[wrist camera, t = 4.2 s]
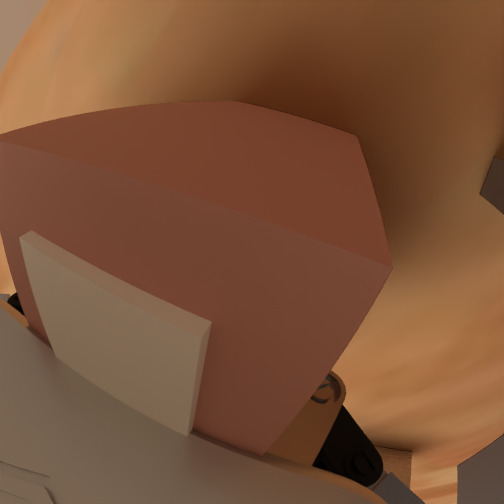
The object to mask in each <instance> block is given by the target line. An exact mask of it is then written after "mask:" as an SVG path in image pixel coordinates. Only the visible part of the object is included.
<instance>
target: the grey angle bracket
mask: <svg viewBox="0 0 504 504" xmlns="http://www.w3.org/2000/svg"><path fill="white" fill-rule="evenodd" d="M480 195H481V196H483V197H484V198H485V199H486V200H487V201H489V202H490V203H491V204H492V205H493V206H494V207H496V208H497V209H498V210H499V211H500V212H501V213H502V214H504V161H502V160H500V159H498V158H496V157H494V159H493V161H492V164H491V167H490V170H489V172H488V175H487V178H486V180H485V183H484V185H483V188H482V190H481V193H480ZM457 471H458V496H457V504H504V434H503V435H502V436H501V437H500V438H498V439H497V440H496V441H494V442H493V443H491V444H490V445H489V446H487V447H486V448H484V449H483V450H481V451H480V452H479V453H477V454H476V455H474V456H473V457H471V458H469V459H468V460H466V461H465V462H463V463H461V464H460V465H458V466H457Z"/></svg>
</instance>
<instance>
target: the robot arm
mask: <svg viewBox="0 0 504 504" xmlns="http://www.w3.org/2000/svg"><path fill="white" fill-rule="evenodd" d="M345 396H346V388H345V385H344V383H343V381H342V379H341V378H340V377H339V376H338V375H337V374H335V373H334V372H333V371H331V370H330V372H329V373H328V374H327V376H326V377H325V379H324V380H323V381H322V383H321V384H320V386H319V387H318V388H317V390H316V391H315V392H314V394H313V395H312V396H311V398H310V399H309V400H308V402H307V403H306V404H305V405H304V407H303V408H302V409H301V411H300V412H299V413H298V414H297V416H296V417H295V418H294V419H293V421H292V422H291V423H290V424H289V425H288V427H287V428H286V429H285V430H284V431H283V433H282V434H281V435H280V436H279V437H278V439H277V440H276V441H275V442H274V443H273V444H272V445H271V447H270V448H269V449H268V450H267V451H266V452H265V453H264V454H263V456H259V455H256V454H253V453H250V452H247V451H245V450H242V449H239V448H236V447H234V446H231V445H229V444H226V443H223V442H221V441H218V440H216V439H214V438H211V437H209V436H206V435H204V434H202V433H200V432H197V431H195V430H193V429H192V431H191V432H190V433H189V434H188V436H185V435H183V434H181V433H178V432H176V431H174V430H172V429H170V428H168V427H166V426H164V425H162V424H160V423H158V422H157V421H155V420H153V419H151V418H149V417H147V416H145V415H144V414H142V413H140V412H138V411H136V410H135V409H133V408H131V407H130V406H128V405H126V404H124V403H123V402H121V401H119V400H118V399H116V398H115V397H113V396H111V395H110V394H108V393H107V392H105V391H104V390H102V389H100V388H99V387H97V386H96V385H94V384H93V383H91V382H90V381H88V380H87V379H86V378H84V377H83V376H81V375H80V374H78V373H77V372H76V371H74V370H73V369H72V368H70V367H69V366H68V365H66V364H65V363H64V362H62V361H61V360H60V359H58V358H57V357H56V356H55V353H54V351H53V349H52V346H51V344H50V342H48V341H47V340H46V339H45V338H43V337H42V336H41V335H40V334H38V333H37V332H36V331H35V330H34V329H32V328H31V327H30V326H29V324H28V322H27V319H26V317H25V314H24V311H23V308H22V306H21V303H20V300H19V297H18V294H17V293H15V294H13V295H12V296H11V297H10V294H0V504H425V503H424V502H423V501H422V500H421V499H420V498H419V497H418V496H416V495H415V494H414V493H413V492H412V491H411V490H410V489H409V488H408V487H407V486H406V485H405V484H404V483H402V482H401V481H400V480H399V479H398V478H397V477H396V476H395V475H394V474H393V473H392V472H389V473H387V472H386V471H385V470H384V469H383V460H382V457H381V456H380V454H379V452H378V451H377V450H376V448H375V447H374V446H373V444H372V443H371V442H370V440H369V439H368V438H367V436H366V435H365V434H364V432H363V431H362V430H361V428H360V427H359V426H358V424H357V423H356V422H355V420H354V419H353V418H352V416H351V415H350V414H349V412H348V411H347V410H346V408H345V407H344V406H343V402H344V400H345Z"/></svg>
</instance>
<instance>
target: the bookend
mask: <svg viewBox="0 0 504 504" xmlns="http://www.w3.org/2000/svg"><path fill="white" fill-rule="evenodd" d="M374 447H375V448H376V450H377V451H378V452H379V454H380V456H381V457H382V460H383V469H384V470H385V471H386V472H387V473H389V472H392V473H393V474H394V475H395V476H396V477H397V478H398V479H399V480H400V481H401V482H402V483H404V484H405V485H406V486H407V487H408V488H409V489H410V479H411V460H412V452H408V451H402V450H395V449H389V448H383V447H378V446H374Z"/></svg>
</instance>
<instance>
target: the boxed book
mask: <svg viewBox="0 0 504 504" xmlns="http://www.w3.org/2000/svg"><path fill="white" fill-rule="evenodd" d="M0 231H1V236H2V240H3V245H4V249H5V253H6V257H7V261H8V264H9V268H10V272H11V275H12V278H13V282H14V285H15V288H16V291H17V294H18V297H19V300H20V303H21V306H22V308H23V311H24V314H25V317H26V319H27V322H28V324H29V326H30V327H31V328H32V329H34V330H35V331H36V332H37V333H38V334H40V335H41V336H42V337H43V338H45V339H46V340H47V341H48V342H50V344H51V346H52V349H53V351H54V353H55V356H56V357H57V358H58V359H60V360H61V361H62V362H64V363H65V364H66V365H68V366H69V367H70V368H72V369H73V370H74V371H76V372H77V373H78V374H80V375H81V376H83V377H84V378H86V379H87V380H88V381H90V382H91V383H93V384H94V385H96V386H97V387H99V388H100V389H102V390H104V391H105V392H107V393H108V394H110V395H111V396H113V397H115V398H116V399H118V400H119V401H121V402H123V403H124V404H126V405H128V406H130V407H131V408H133V409H135V410H136V411H138V412H140V413H142V414H144V415H145V416H147V417H149V418H151V419H153V420H155V421H157V422H158V423H160V424H162V425H164V426H166V427H168V428H170V429H172V430H174V431H176V432H178V433H181V434H183V435H185V436H188V434H189V433H190V432H191V431H192V429H193V430H195V431H197V432H200V433H202V434H204V435H206V436H209V437H211V438H214V439H216V440H218V441H221V442H223V443H226V444H229V445H231V446H234V447H236V448H239V449H242V450H245V451H247V452H250V453H253V454H256V455H259V456H263V454H264V453H265V452H266V451H267V450H268V449H269V448H270V447H271V445H272V444H273V443H274V442H275V441H276V440H277V439H278V437H279V436H280V435H281V434H282V433H283V431H284V430H285V429H286V428H287V427H288V425H289V424H290V423H291V422H292V421H293V419H294V418H295V417H296V416H297V414H298V413H299V412H300V411H301V409H302V408H303V407H304V405H305V404H306V403H307V402H308V400H309V399H310V398H311V396H312V395H313V394H314V392H315V391H316V390H317V388H318V387H319V386H320V384H321V383H322V381H323V380H324V379H325V377H326V376H327V374H328V373H329V372H330V370H331V369H332V367H333V366H334V364H335V363H336V362H337V360H338V359H339V357H340V356H341V354H342V353H343V351H344V350H345V348H346V347H347V345H348V344H349V342H350V341H351V339H352V337H353V336H354V334H355V333H356V331H357V330H358V328H359V326H360V325H361V323H362V322H363V320H364V318H365V317H366V315H367V313H368V312H369V310H370V308H371V307H372V305H373V303H374V302H375V300H376V298H377V296H378V295H379V293H380V291H381V289H382V288H383V286H384V284H385V282H386V280H387V278H388V277H389V275H390V273H391V271H392V269H393V266H392V261H391V256H390V251H389V247H388V242H387V238H386V233H385V229H384V225H383V221H382V217H381V213H380V209H379V206H378V202H377V198H376V195H375V191H374V188H373V184H372V181H371V178H370V174H369V171H368V168H367V165H366V162H365V159H364V155H363V152H362V149H361V147H360V144H359V141H358V138H357V136H356V135H353V134H350V133H348V132H345V131H342V130H339V129H336V128H333V127H330V126H327V125H324V124H321V123H318V122H315V121H311V120H308V119H305V118H301V117H298V116H295V115H291V114H287V113H284V112H280V111H276V110H272V109H269V108H265V107H260V106H256V105H252V104H248V103H243V102H239V101H194V102H174V103H160V104H149V105H139V106H131V107H123V108H115V109H108V110H102V111H96V112H90V113H84V114H79V115H74V116H69V117H64V118H59V119H55V120H51V121H47V122H42V123H38V124H35V125H31V126H27V127H24V128H20V129H17V130H13V131H10V132H7V133H4V134H0Z"/></svg>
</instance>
